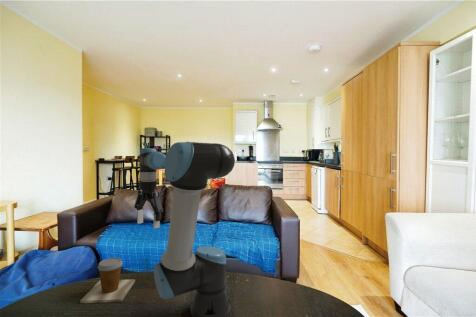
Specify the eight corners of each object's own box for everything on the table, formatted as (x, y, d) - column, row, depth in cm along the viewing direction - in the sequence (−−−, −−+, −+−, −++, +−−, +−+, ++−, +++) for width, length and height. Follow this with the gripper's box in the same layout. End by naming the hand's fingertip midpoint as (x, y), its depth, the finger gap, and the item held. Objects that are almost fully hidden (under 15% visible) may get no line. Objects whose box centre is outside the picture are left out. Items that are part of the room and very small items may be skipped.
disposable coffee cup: (126, 284, 109) (126, 257, 109) (113, 296, 100) (114, 267, 100) (106, 283, 110) (106, 256, 110) (92, 294, 101) (92, 265, 101)
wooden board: (135, 281, 114) (135, 279, 114) (121, 301, 98) (121, 299, 98) (99, 282, 112) (99, 280, 112) (79, 303, 97) (79, 300, 97)
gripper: (171, 181, 111) (171, 228, 111) (141, 179, 126) (140, 220, 126) (156, 183, 105) (156, 232, 105) (127, 180, 120) (126, 222, 120)
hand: (148, 225), depth 116 cm, fingers open, 13 cm apart
